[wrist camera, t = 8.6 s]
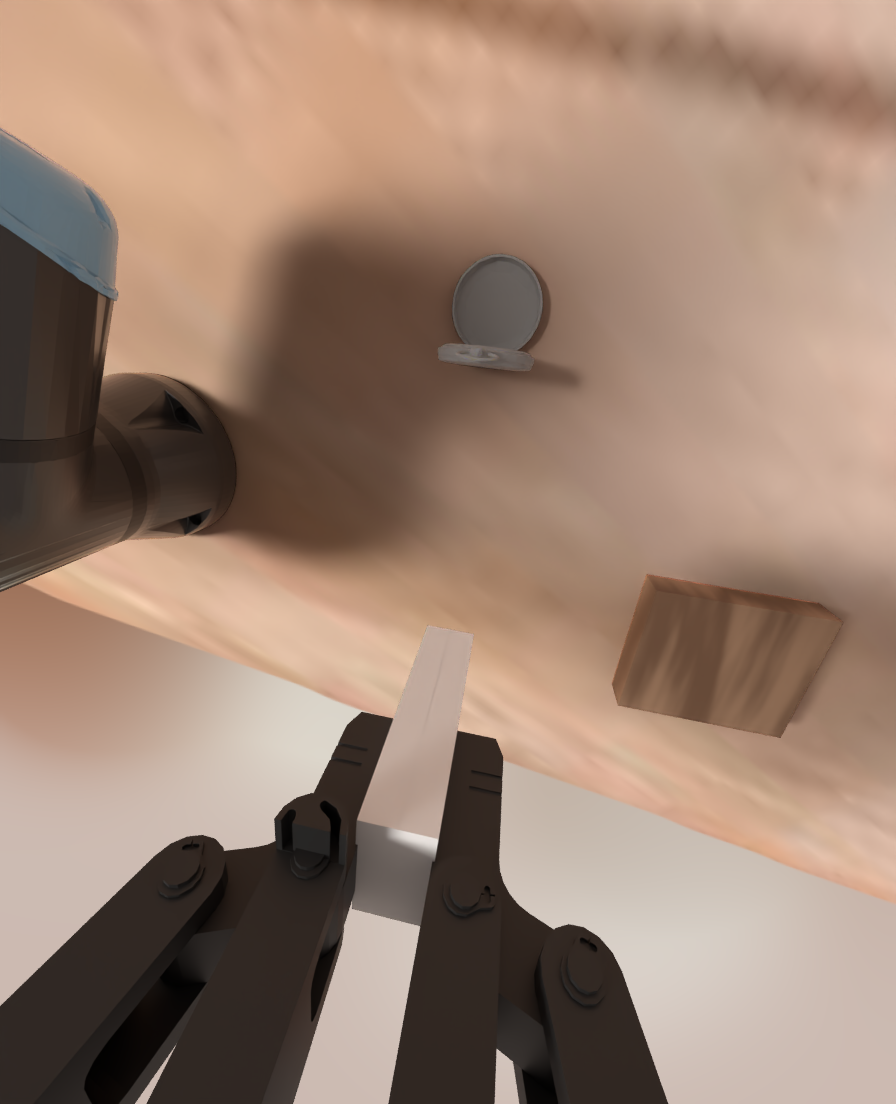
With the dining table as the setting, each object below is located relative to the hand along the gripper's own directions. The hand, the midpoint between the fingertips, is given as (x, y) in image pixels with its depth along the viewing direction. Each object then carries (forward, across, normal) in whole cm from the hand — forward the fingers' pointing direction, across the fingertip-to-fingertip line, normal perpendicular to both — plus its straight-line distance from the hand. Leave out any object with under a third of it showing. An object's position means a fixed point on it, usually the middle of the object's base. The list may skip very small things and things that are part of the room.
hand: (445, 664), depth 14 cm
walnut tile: (+24, +15, -12) cm, 30 cm away
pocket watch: (+26, -2, +12) cm, 29 cm away
